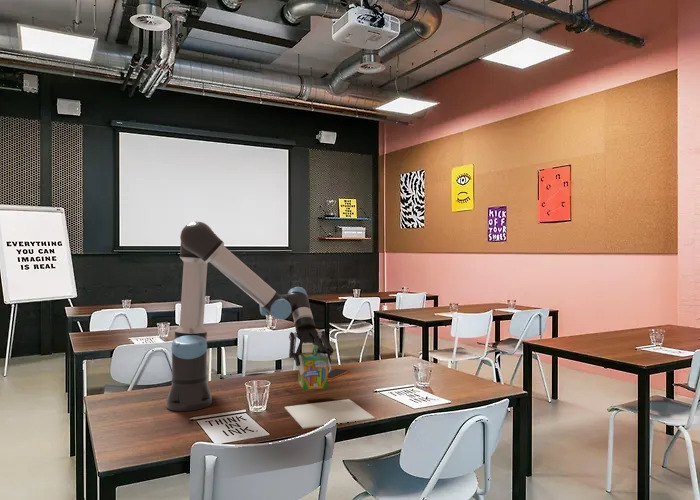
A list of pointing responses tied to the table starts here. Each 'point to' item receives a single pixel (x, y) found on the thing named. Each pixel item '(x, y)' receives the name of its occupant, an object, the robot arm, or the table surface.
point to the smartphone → (336, 373)
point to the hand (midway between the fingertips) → (316, 371)
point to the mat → (327, 413)
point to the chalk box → (314, 370)
